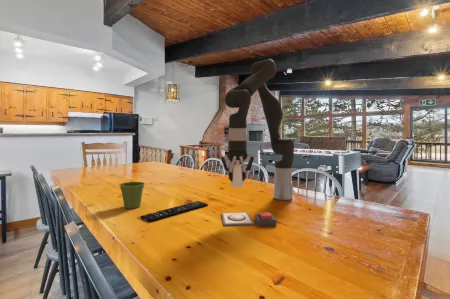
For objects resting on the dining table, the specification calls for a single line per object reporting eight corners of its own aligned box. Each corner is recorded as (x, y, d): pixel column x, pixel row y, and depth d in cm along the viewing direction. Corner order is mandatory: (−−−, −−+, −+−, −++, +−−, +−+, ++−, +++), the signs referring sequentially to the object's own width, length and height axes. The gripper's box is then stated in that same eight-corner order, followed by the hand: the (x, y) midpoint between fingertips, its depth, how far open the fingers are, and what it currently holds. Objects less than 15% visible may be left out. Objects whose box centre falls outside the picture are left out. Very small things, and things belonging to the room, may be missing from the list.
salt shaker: (229, 184, 107) (230, 159, 106) (242, 184, 108) (242, 159, 107) (231, 187, 102) (231, 160, 101) (244, 187, 102) (244, 160, 101)
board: (247, 213, 113) (247, 211, 113) (254, 225, 99) (254, 222, 99) (221, 214, 112) (221, 212, 112) (223, 225, 98) (223, 223, 98)
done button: (269, 216, 104) (269, 212, 104) (271, 219, 100) (272, 215, 99) (259, 216, 103) (259, 212, 103) (261, 220, 99) (261, 215, 99)
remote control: (140, 219, 106) (139, 214, 106) (197, 203, 130) (197, 200, 130) (149, 224, 101) (149, 219, 101) (207, 207, 125) (207, 203, 124)
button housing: (271, 219, 105) (271, 213, 105) (276, 226, 98) (276, 219, 98) (254, 220, 105) (255, 214, 105) (258, 226, 98) (258, 220, 98)
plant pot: (150, 206, 123) (149, 183, 122) (126, 212, 114) (125, 187, 113) (138, 201, 131) (137, 180, 130) (115, 206, 122) (114, 183, 121)
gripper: (252, 139, 108) (252, 179, 109) (219, 139, 106) (219, 179, 108) (256, 139, 100) (255, 182, 101) (220, 139, 99) (220, 182, 100)
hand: (237, 180), depth 105 cm, fingers closed on salt shaker, 4 cm apart
